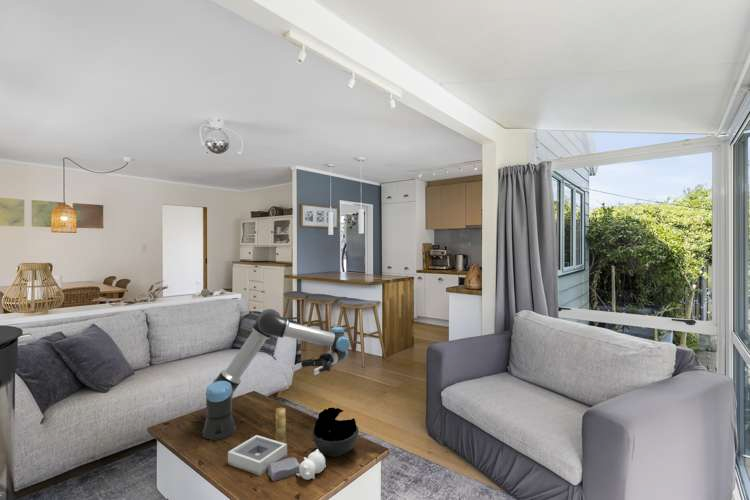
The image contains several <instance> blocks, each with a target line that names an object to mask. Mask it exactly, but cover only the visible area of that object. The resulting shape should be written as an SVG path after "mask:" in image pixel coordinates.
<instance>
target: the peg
mask: <svg viewBox="0 0 750 500" xmlns="http://www.w3.org/2000/svg"><path fill="white" fill-rule="evenodd" d="M286 417H287V416H286V408H285V407H278V408H276V409H275V441H278V442H282V443H285V444H287V440H286V439H287V438H286V437H287V433H286V431H287V429H286V428H287V426H286V425H287V424H286V423H287V421H286Z"/></svg>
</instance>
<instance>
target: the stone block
mask: <svg viewBox="0 0 750 500" xmlns="http://www.w3.org/2000/svg"><path fill="white" fill-rule="evenodd" d="M300 464H301V463H299V461H298V459H297V458H296V457H291V456H290V457H288V458H286V457H285V458H283V459H282V460H281V461H279V462H274V463H269V466H268V470H267V475H268V476H269V477H270V479H271V480H272V482H277V481H279V480H283V479H285V478H288V477H293V476H295V475H296V474H297V473H298V474H299V473H300V472H299V466H300ZM296 476H297V475H296Z"/></svg>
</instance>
